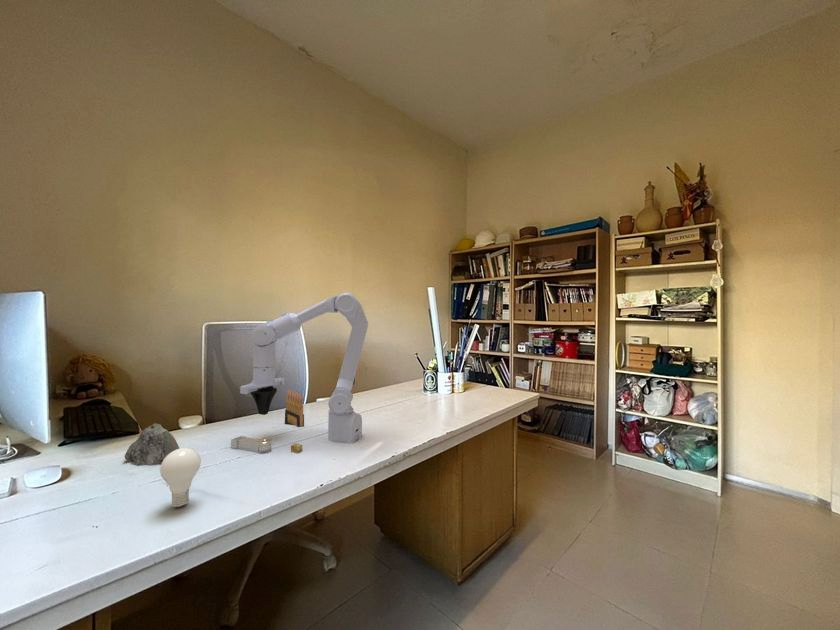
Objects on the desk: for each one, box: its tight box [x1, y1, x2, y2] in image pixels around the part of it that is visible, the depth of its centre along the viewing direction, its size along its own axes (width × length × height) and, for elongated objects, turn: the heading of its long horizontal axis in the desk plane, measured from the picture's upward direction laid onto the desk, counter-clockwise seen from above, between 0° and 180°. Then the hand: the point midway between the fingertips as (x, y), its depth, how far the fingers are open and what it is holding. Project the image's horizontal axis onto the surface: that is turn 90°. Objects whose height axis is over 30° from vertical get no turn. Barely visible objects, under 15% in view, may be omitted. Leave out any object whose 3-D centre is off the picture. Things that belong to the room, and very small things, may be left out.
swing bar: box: [230, 435, 272, 454], centre depth 89 cm, size 12×3×3 cm, turn 71°
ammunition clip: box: [284, 389, 305, 428], centre depth 111 cm, size 11×2×12 cm, turn 46°
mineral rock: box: [124, 423, 181, 467], centre depth 83 cm, size 13×11×10 cm
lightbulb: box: [159, 447, 202, 508], centre depth 64 cm, size 6×6×11 cm
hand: (263, 413), depth 95 cm, fingers closed
